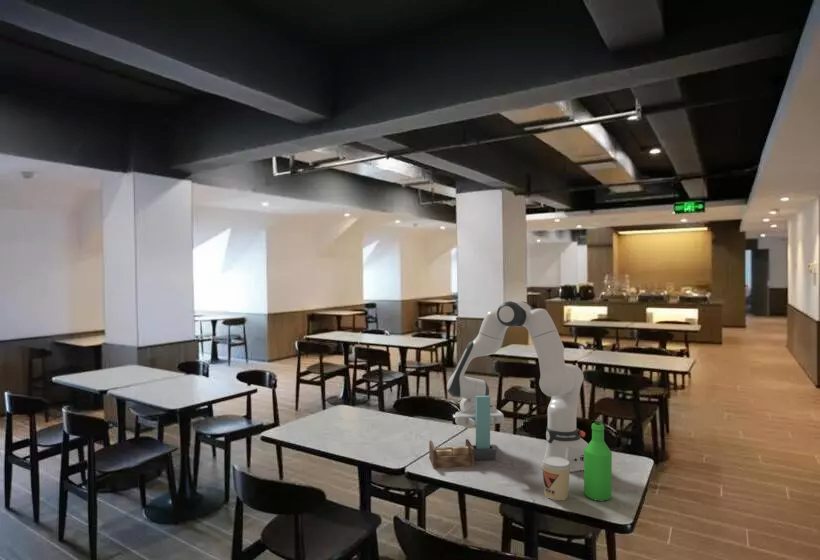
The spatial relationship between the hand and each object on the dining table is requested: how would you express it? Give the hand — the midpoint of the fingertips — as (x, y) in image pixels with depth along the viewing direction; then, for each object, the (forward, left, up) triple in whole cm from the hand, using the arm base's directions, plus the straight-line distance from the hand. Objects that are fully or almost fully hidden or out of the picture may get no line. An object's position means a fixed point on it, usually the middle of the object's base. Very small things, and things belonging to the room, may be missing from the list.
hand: (483, 423), depth 198 cm
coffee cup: (-18, +31, -16) cm, 39 cm away
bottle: (-32, +33, -16) cm, 48 cm away
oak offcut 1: (+17, +4, -14) cm, 22 cm away
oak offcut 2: (+10, +4, -14) cm, 18 cm away
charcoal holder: (0, -1, -16) cm, 16 cm away
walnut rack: (+13, +2, -16) cm, 21 cm away
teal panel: (0, -1, -13) cm, 13 cm away
